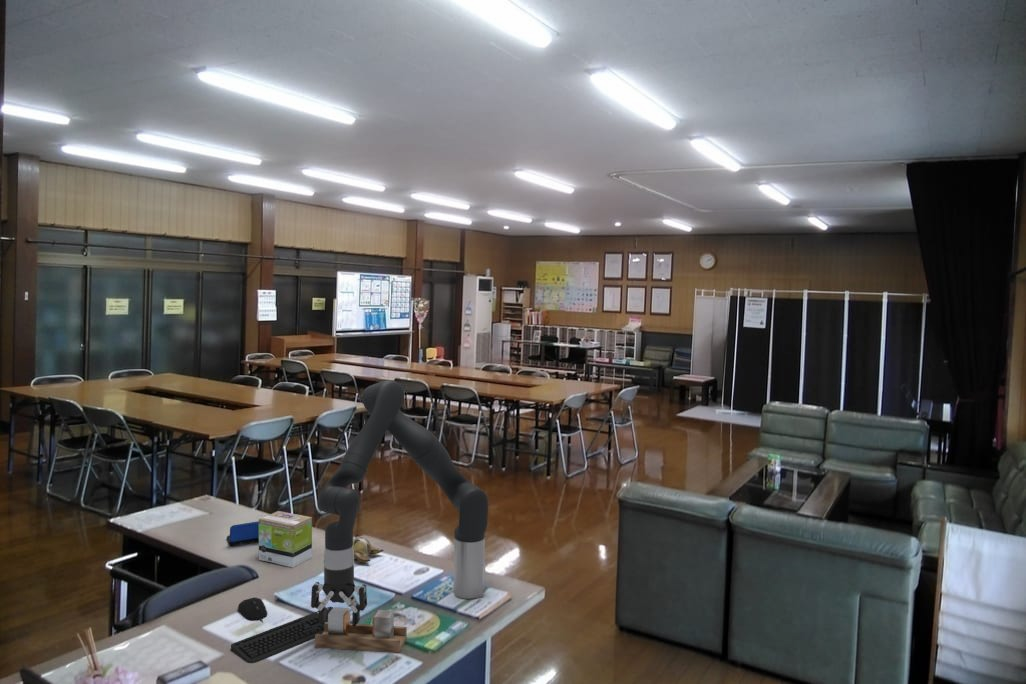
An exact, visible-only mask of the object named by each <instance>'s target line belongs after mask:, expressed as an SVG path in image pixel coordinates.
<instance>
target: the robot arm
mask: <svg viewBox="0 0 1026 684" xmlns="http://www.w3.org/2000/svg"><path fill="white" fill-rule="evenodd" d="M361 400H362V404H363V407H364V409H365V410H366V412H367V413H368V414H369V415H370V416H369V418H368V420H367V421H366V423H365V424H364V425H363V427H362V428H361V429H360V430H359V432H358V433H357V435H356V436H355V437H354V438H353V440H352V441H351V442H350V444H349V445H348V448H347V450H346V451H345V454H344V455H343V457H342V460H341V462H340V465H339V467H338V468H337V470H336V471H335V472H334V473H333V474H332V476H330V478H329V479H328V480H327V482H325V484H324V486H323V487H322V489H320V492H319V493H318V494H319V495H318V501H317V503H318V507H319V509H320V510H321V512H323V513H326V514H331V515H337V516H339V520H336V521H332V522H330V523H328V524H327V525H326V526H325V529H324V554H323V581H324V582H323V583H320V582H319V581H316V582H315V583H314V584H313V585H312V586H311V593H310V594H311V598H310V599H311V601H310V607H311V608H312V609H317V611H319V622H321V624H324V623H325V622H326V608H327V607H326V605H327V604H328V602H329V601H330V602H331V603H340V604H344V603H345V604H346V605H347V607H348V608H350V609H351V611H352V613H351V616H352V619H351V621H352V622H351V623H352V626H356V625H357V624H359V623H360V620H361V611H363V612H364V610H365V608H366V607H368V598H367V597H368V595H367V585H366V584H365V583H364V584H361V585H356V584H355V559H354V550H353V536H354V528H355V524H356V519H357V517H358V512H359V509H360V503H361V498H360V495H359V493H358V492H357V490H356V489H354V488H352V487H348V486H350V485H353V484H358V483H361V482H362V481H363V480H364V478H365V476H366V473H367V472H368V469H369V466H370V463H371V462H372V459H373V457H374V455H375V453H376V450H377V449H378V446H379V445H380V443H381V441H382V439H383V438H384V435H385V434H386V432H387V431H388V433H390V435H391V436H392V437H393V438H394V440H396V442H397V443H398V444H399V445H400V446H401V447H402V448H403V449H404V450H405V451H406V453H407V454H408V455H409V456H410V458H411V459H412V460H413V462H415V463H416V464H417V466H418V467H419V468H420V469H421V470H422V471H423V472H424V473H425V474H426V475H427V476H428V477H429V478H431V480H433V481H434V482H435V483H436V484H437V485H438V487H440V489H441V490H442V491H443V493H444V494H445V496H446V497H447V498H448V500H449V502H450V503H451V504H452V506H453V507H454V509H455V510H456V511H458V513H459V515H458V518H459V519H458V520H459V521H458V525H457V526H456V527H455V529H454V535H453V536H454V539H453V542H454V543H453V545H454V547H453V548H454V550H453V555H454V556H453V595H454V596H456V597H457V596H458V598H460V599H465V600H466V599H469V600H473V599H476V598H483V596H484V594H485V590H486V559H485V549H486V548H485V539H486V538H485V537H486V534H485V533H486V532H487V528H488V518H489V499H488V498H489V497H488V495H487V494H486V493H487V492H485V490H483V489H481V487H479V486H477V485H475V484H474V483H473V482H471V481H470V480H468V479H467V478H466V477H465V476H464V475H463V473H462V472H460V471H459V470H458V469H457V467H456V465H455V464H454V462H453V460H452V458H451V456H450V453H449V452H448V450H447V449H446V448H445V445H444V444H442V442H441V441H440V440H439V438H437V436H436V435H435V434H434V433H433V432H432V431H430V430H429V429H428V428H426V427H425V426H423V425H422V424H419V423H417V422H415V421H414V420H412V419H411V418H409V417H408V416H406V414H404V412H403V411H401V408H402V406H403V405H404V402H405V390H404V387H403V386H402V385H401V383H399V382H398V381H396V380H394V379H388V380H383V381H379V382H377V383H374V384H371V385H369V386H367V387H366V388H365V389H364V390H363V392H362V395H361ZM321 591H323V592H324V594H325V596H326V597H324V599H323V600H322V601H319V600H320V592H321ZM355 592H356V594H357V596H358V599H359V600H357V597H356V595H354V593H355ZM358 601H359V602H358Z"/></svg>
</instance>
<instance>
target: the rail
mask: <svg viewBox="0 0 1026 684" xmlns="http://www.w3.org/2000/svg"><path fill="white" fill-rule="evenodd" d="M394 620H395V611H394V610H388V609H386V610H385V609H378V611H377V612H375V613H374V616H372V624H365V623H358V624H357V625H356V626H352V622H351V623H350V630H349V634H348V635H347V636H343V635H328V622H325V624H324V632H323V633H322V634H316V635H315V639H314V648H320V649H321V648H322V649H323V648H324V649H338V650H339V649H341V650H353V651H354V650H355V651H368V652H369V651H370V652H371V651H372V652H385V653H400V652H401V650H402V648H403V646H404V643H405V642H406V639H408V638H407V631H408V628H407V626H398V625H394V623H395V621H394Z"/></svg>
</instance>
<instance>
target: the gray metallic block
mask: <svg viewBox="0 0 1026 684" xmlns="http://www.w3.org/2000/svg"><path fill="white" fill-rule="evenodd" d="M349 608H350V607H339V606H338V607H337V606H333V609H332V610H331V611H330V612H329V614H328V635H343V636H347V635H348V634H349V630H350V621H351V611H350V610H349Z"/></svg>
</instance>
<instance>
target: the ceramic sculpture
mask: <svg viewBox="0 0 1026 684" xmlns="http://www.w3.org/2000/svg"><path fill="white" fill-rule="evenodd" d="M353 550H354V560H357V561H358V562H359V563H368V562H371V559H370V557H369V555H371V556H373V555H378V554H380V553H383V552H384V550H385V549H379V548H377V547H376V546H375V545H372V544H371V543H370V541H369V540H368V539H367V538H365V537H360V535H359V534H357V533H356V534H353Z"/></svg>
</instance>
